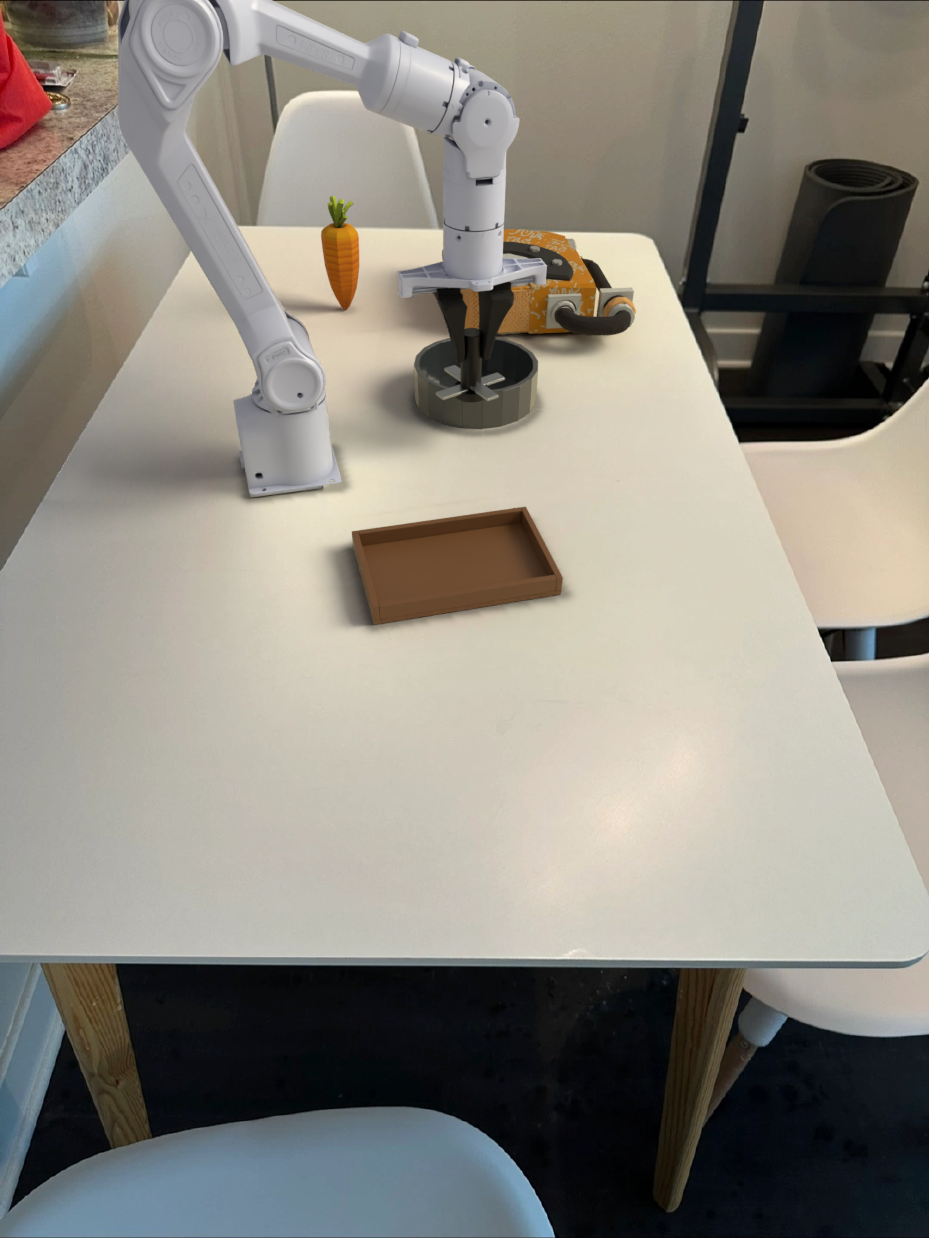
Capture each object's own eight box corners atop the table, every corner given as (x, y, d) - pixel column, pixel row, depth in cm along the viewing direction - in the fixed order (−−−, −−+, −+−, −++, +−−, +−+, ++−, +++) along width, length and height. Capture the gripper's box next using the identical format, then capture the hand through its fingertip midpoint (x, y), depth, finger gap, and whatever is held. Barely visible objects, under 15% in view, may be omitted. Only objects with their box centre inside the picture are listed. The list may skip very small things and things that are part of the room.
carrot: (330, 301, 129) (320, 189, 119) (365, 302, 129) (358, 190, 119) (325, 316, 125) (314, 202, 115) (361, 317, 125) (353, 203, 115)
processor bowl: (430, 440, 102) (429, 399, 98) (404, 380, 112) (403, 342, 109) (551, 424, 105) (554, 385, 101) (515, 368, 115) (517, 330, 111)
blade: (443, 417, 94) (443, 353, 89) (425, 381, 99) (424, 319, 95) (517, 408, 95) (521, 345, 90) (495, 373, 101) (498, 312, 96)
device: (594, 212, 133) (649, 295, 111) (588, 268, 139) (640, 359, 117) (439, 216, 131) (465, 303, 109) (440, 274, 136) (464, 367, 114)
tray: (373, 625, 79) (372, 607, 78) (353, 547, 87) (351, 531, 86) (561, 594, 83) (563, 577, 81) (524, 522, 91) (525, 506, 89)
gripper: (406, 243, 81) (410, 383, 90) (561, 230, 84) (550, 366, 93) (390, 216, 86) (396, 351, 95) (537, 204, 89) (528, 336, 98)
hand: (471, 357), depth 94 cm, fingers closed on blade, 2 cm apart
